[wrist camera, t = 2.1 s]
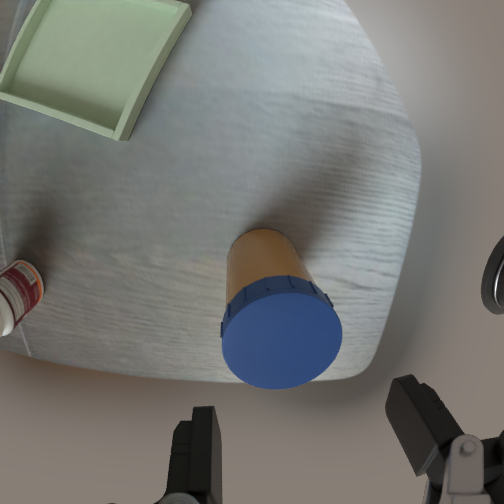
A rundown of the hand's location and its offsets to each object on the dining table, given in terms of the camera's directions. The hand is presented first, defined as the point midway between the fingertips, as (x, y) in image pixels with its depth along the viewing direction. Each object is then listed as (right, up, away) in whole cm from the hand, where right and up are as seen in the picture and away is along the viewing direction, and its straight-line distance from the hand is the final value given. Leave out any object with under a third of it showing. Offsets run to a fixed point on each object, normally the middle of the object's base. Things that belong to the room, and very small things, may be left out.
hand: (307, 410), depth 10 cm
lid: (-1, +1, +5) cm, 5 cm away
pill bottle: (-24, +3, +14) cm, 28 cm away
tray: (-15, +22, +8) cm, 28 cm away
